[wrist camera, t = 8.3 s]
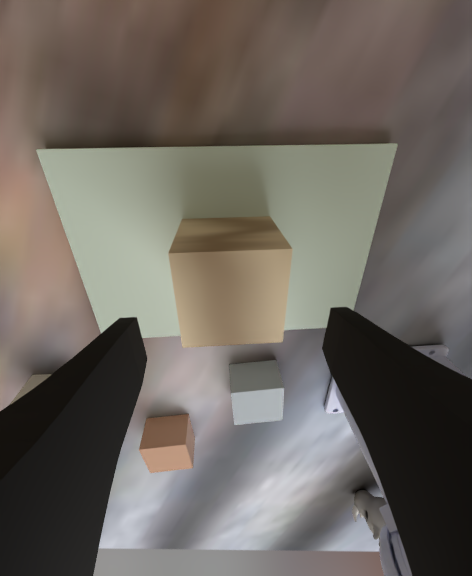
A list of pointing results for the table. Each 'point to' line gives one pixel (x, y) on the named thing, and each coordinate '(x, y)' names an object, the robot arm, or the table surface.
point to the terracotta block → (168, 443)
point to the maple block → (230, 280)
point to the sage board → (216, 204)
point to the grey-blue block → (256, 392)
